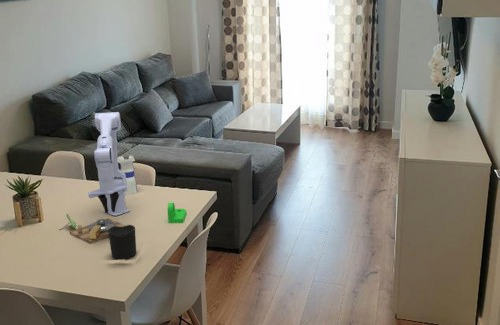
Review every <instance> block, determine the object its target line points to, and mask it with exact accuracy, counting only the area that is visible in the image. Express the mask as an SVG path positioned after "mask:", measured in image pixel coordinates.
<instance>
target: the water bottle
mask: <svg viewBox="0 0 500 325" xmlns="http://www.w3.org/2000/svg"><path fill="white" fill-rule="evenodd" d="M132 146H133V145H130V143H129V142H128V144H127V145H125V147H126V150H130V151H131V150H132ZM117 157H118V164H120V168H119V170H121V171H122V172H124V173H125V175H126V181H127V191H126V192H124V196H133V195H136V194H137V193H138V186H137V179H136V178H137V177H136V175H135V170H136V168H135V167H134V162H136V160H135V157H134V156H133V155H129V157H128V159H127V158H124V156H122V155H119V156H117Z"/></svg>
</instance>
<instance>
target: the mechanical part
mask: <svg viewBox="0 0 500 325" xmlns="http://www.w3.org/2000/svg"><path fill="white" fill-rule="evenodd" d="M186 216H187V209H185V208H176V206H175V203H174V202H168V203H167V220H168V222H167V223H168V224H183V223H184V222H185V218H186Z"/></svg>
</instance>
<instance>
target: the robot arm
mask: <svg viewBox="0 0 500 325" xmlns="http://www.w3.org/2000/svg"><path fill="white" fill-rule="evenodd" d="M121 124H122V123H121V114H120V112H119V111H115V112H114V111H113V112H112V111H111V112H96V113H95V114H94V125H95V127H96V130H98V132H100V135H99V136H98V138H97V142H96V149H94V151H93V152H94V156H93V157H94V161H95V166H96V168H97V176H98V184H99V185H98V186H99V189H96V190H92V191H88V192H87V194H88V199H93V198H97V197H98V199H99V201H100V202H101V204H102V207H103V210H102V212H104V213H105V214H109V215H112V216H114V217H117V216H120V215H122V214H125V213H128V212H130V211H131V209H129V208H126V198H125V196H126V195H124V192H126V191H127V181H126V175H125V173H124V172H122V171H121V170H120V168H119V163H118V157H119V156H118V146H117V132H119V131H121V129H122V128H121V127H122V126H121Z"/></svg>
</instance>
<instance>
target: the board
mask: <svg viewBox="0 0 500 325" xmlns="http://www.w3.org/2000/svg"><path fill="white" fill-rule="evenodd" d="M104 220H105V221H112V222H114V226H118V227H124V226H127V225H125V224H123V223H120V222H118V221H116V220H113V219H111V218H105V219H104ZM89 225H90V224H88V225H85V226H82V224H79V225H78V224H77V226H76V228H75V229H73V230H70V231H69V234H70V235H71V236H73V237H76V238H78V239H80V240H82V241H84V242H86V243H88V244H90V245H91V244H94V243H96V242H99V241H102V240H104V239H108V238H109V233H108V231H106V232H101V233H100V234H99V236H98V237H97V238H96V239H90V235H89V232H90V231H89Z"/></svg>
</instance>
